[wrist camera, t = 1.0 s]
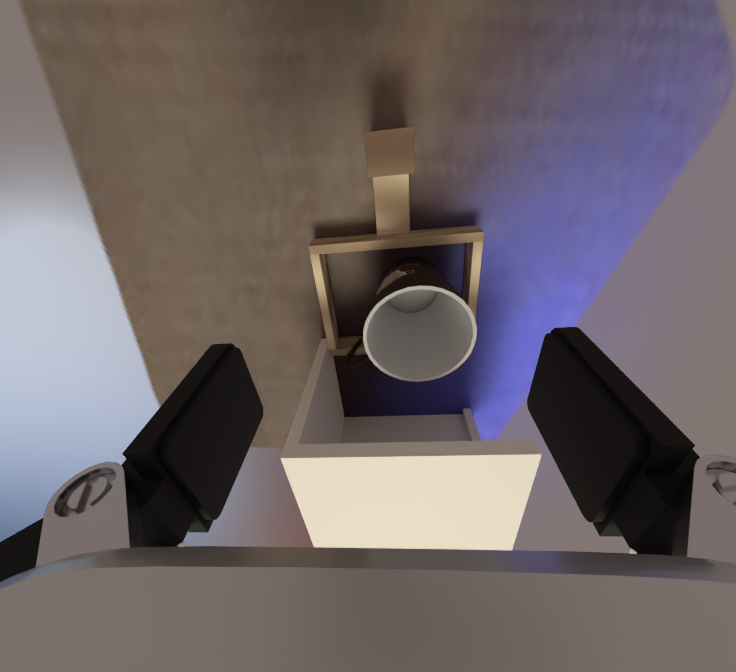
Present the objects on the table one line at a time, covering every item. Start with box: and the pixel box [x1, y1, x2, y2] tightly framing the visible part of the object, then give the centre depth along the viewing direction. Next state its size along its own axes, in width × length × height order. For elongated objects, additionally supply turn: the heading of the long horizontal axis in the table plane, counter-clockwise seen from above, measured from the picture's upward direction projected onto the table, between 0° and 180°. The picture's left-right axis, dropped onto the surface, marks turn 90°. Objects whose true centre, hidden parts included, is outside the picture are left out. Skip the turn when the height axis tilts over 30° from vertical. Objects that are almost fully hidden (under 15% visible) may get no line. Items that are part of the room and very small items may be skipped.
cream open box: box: [281, 338, 541, 550], centre depth 32 cm, size 14×18×16 cm
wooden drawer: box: [309, 127, 484, 356], centre depth 27 cm, size 20×15×7 cm
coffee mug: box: [343, 257, 477, 382], centre depth 28 cm, size 12×9×10 cm
